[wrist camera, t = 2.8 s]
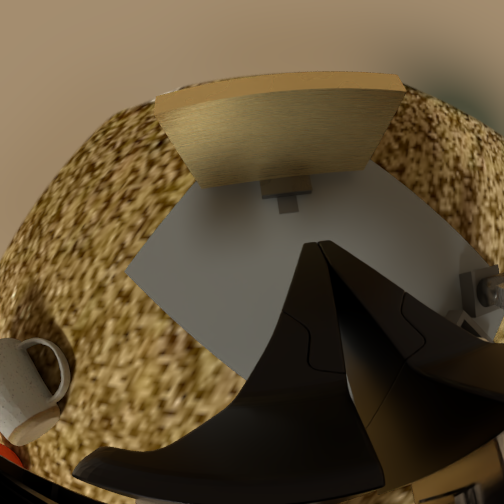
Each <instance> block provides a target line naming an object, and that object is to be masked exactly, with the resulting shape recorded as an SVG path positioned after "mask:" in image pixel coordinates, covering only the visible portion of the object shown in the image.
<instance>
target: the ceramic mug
mask: <svg viewBox="0 0 504 504" xmlns="http://www.w3.org/2000/svg"><path fill="white" fill-rule="evenodd" d="M36 344H43V345H46V346H49V347H50V348H51V349H52V350H53V351H54V353H55V355H56V357H57V359H58V362H59V369H60V370H61V383H60V386H59V389H58V390H57V391H56V393H55V394H54V395H53V396H52V394H51V393H50V391H49V390H48V388H47V387H46V385H45V383H44V382H43V380H42V378H41V377H40V375H39V373H38V371H37V369H36V367H35V365H34V363H33V362H32V360H31V358H30V356H29V354H28V352H27V350H26V349H27V348H29V347H31V346H33V345H36ZM69 384H70V369H69V365H68V362H67V360H66V358H65V356H64V354H63V353H62V351H61V350H60V349H59V347H58V346H56V345H55V344H54V343H52V342H51V341H48V340H45V339H42V338H31V339H27V340H25V341H23V342H21V341H19V340H18V339H14V338H3V339H0V432H1V433H2V434H3V435H4V436H5V438H6V439H7V440H8V441H9V442H10V443H11V444H13V445H16V446H22V445H25V444H28V443H30V442H32V441H34V440H36V439H37V438H39V437H40V436H42V435H43V434H45V433H46V432H47V431H48V430H50V429H51V428H52V427H53V426H54V425H55V424H56V423H57V422H58V420H59V418H60V410H59V407H58V405H57V403H56V402H58V401H59V400H61V399H62V398H63V396H64V395H65V393H66V391H67V390H68V387H69Z"/></svg>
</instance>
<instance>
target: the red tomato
mask: <svg viewBox="0 0 504 504" xmlns="http://www.w3.org/2000/svg"><path fill="white" fill-rule="evenodd" d="M0 455H2V456H3V457H5V458H7V459H8V460H10V461H12V462H14V463H15V464H17V465H19V466H21V467H23V465H22V463H21V461H20V459H19V458H18V456H17V455H16V454H15V453H14V452H13V451H12V450H10V449H9V448H8V447H6V446H4V445H2V444H0ZM23 468H24V467H23Z"/></svg>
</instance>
